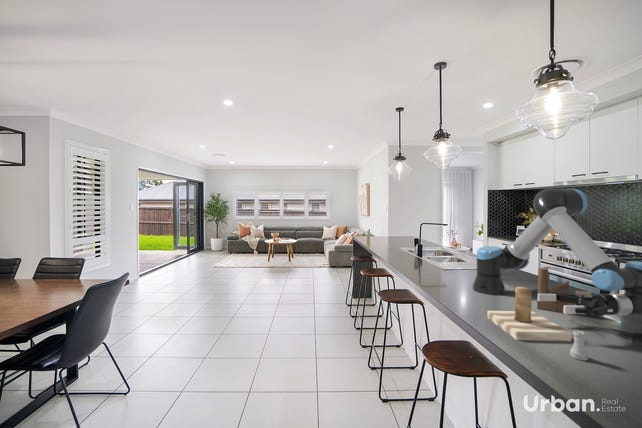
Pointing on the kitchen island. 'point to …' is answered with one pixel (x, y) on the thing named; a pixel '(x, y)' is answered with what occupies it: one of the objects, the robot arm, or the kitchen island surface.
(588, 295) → the architectural model
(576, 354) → the rook chess piece
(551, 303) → the wooden post with wedge
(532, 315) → the birch board
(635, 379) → the kitchen island surface
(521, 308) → the oak leg
